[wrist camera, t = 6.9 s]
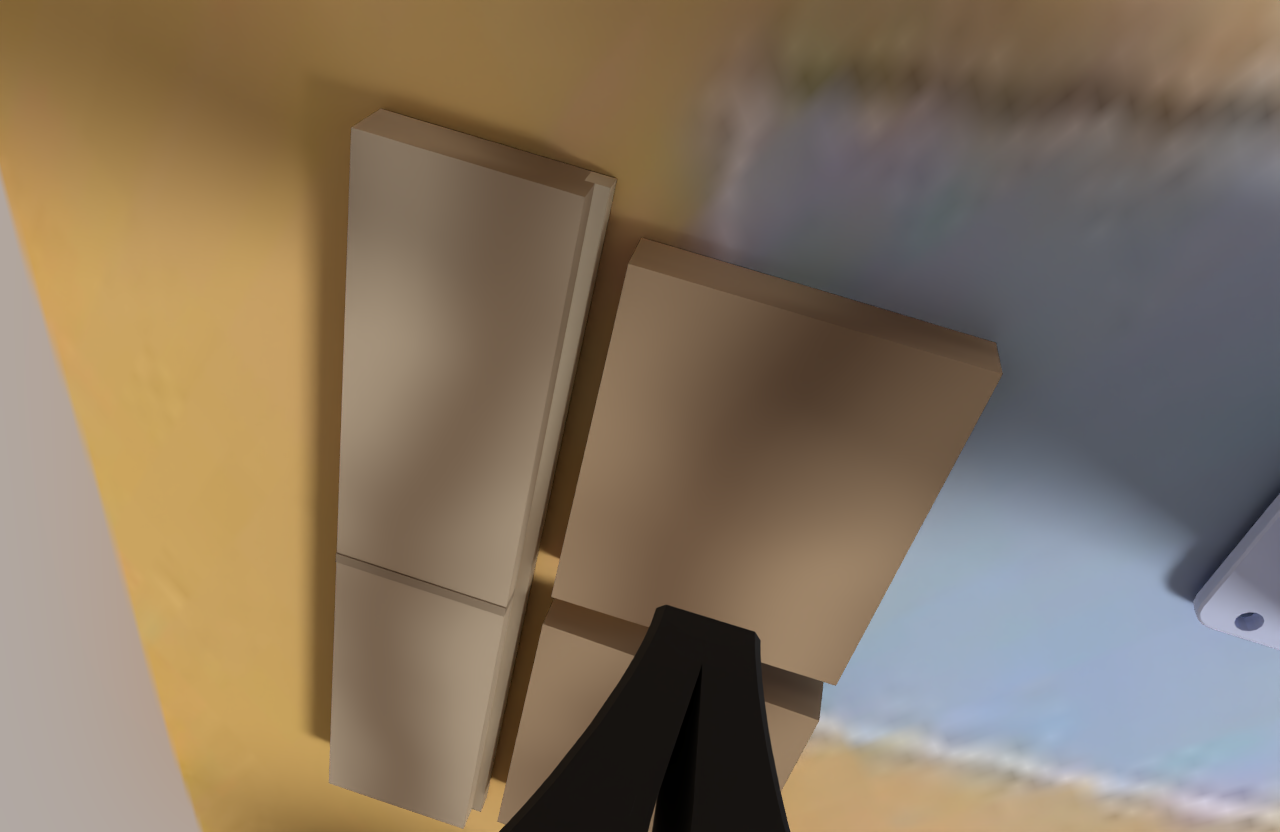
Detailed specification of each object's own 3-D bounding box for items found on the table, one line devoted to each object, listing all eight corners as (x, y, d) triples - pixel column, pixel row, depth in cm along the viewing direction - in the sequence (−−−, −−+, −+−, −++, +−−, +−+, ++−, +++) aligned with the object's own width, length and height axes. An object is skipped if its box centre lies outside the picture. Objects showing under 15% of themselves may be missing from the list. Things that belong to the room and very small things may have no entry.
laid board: (616, 178, 18) (600, 203, 17) (486, 797, 30) (472, 833, 29) (380, 108, 18) (350, 127, 17) (347, 750, 30) (327, 784, 29)
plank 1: (995, 341, 18) (1002, 373, 17) (837, 647, 23) (835, 685, 22) (641, 237, 18) (628, 263, 17) (564, 562, 23) (551, 596, 22)
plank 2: (823, 681, 23) (819, 720, 22) (727, 866, 29) (720, 903, 28) (558, 590, 24) (542, 623, 23) (511, 787, 29) (497, 821, 28)
